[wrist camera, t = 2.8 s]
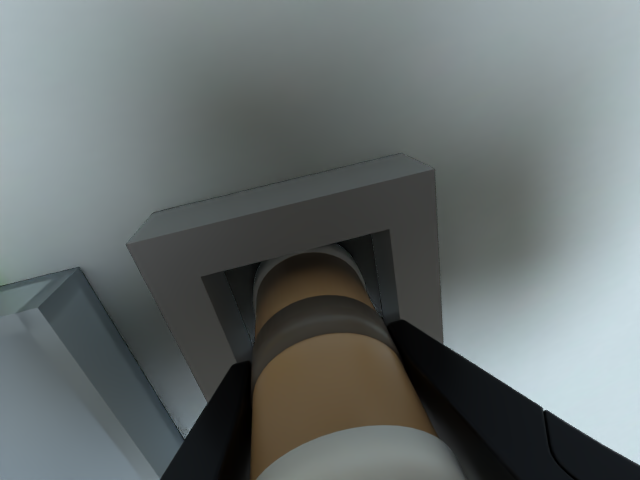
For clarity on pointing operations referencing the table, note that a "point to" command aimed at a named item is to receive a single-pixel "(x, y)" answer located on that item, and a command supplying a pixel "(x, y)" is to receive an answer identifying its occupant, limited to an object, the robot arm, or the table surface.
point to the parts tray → (74, 390)
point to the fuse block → (290, 251)
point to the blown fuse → (333, 381)
